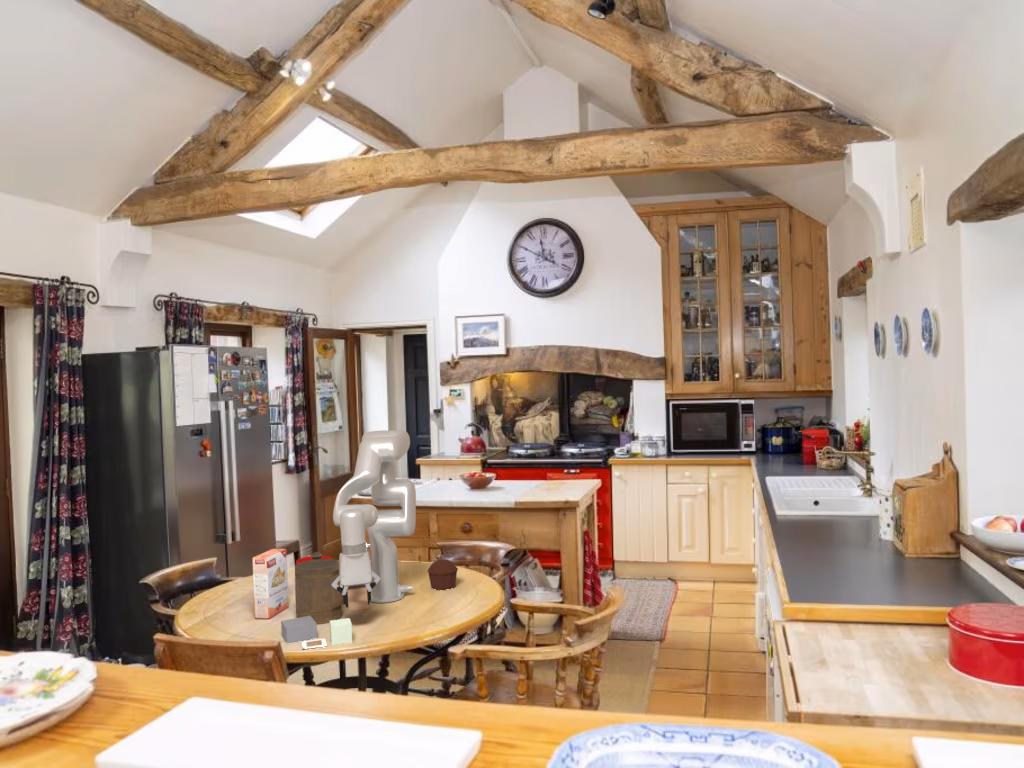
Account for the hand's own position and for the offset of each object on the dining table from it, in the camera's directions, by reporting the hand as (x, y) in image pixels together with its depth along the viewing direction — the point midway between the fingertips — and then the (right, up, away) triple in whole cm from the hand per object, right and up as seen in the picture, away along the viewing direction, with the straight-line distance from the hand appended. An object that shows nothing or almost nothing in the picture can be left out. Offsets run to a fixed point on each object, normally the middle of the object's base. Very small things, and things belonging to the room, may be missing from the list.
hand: (357, 604), depth 251 cm
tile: (-10, -8, -15) cm, 20 cm away
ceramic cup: (-26, -8, +57) cm, 63 cm away
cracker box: (-33, -9, +21) cm, 40 cm away
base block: (-17, -9, -7) cm, 20 cm away
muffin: (+24, -6, +43) cm, 49 cm away
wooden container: (-15, -8, +12) cm, 21 cm away
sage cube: (-2, -8, -13) cm, 15 cm away
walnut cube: (0, -1, 0) cm, 1 cm away
